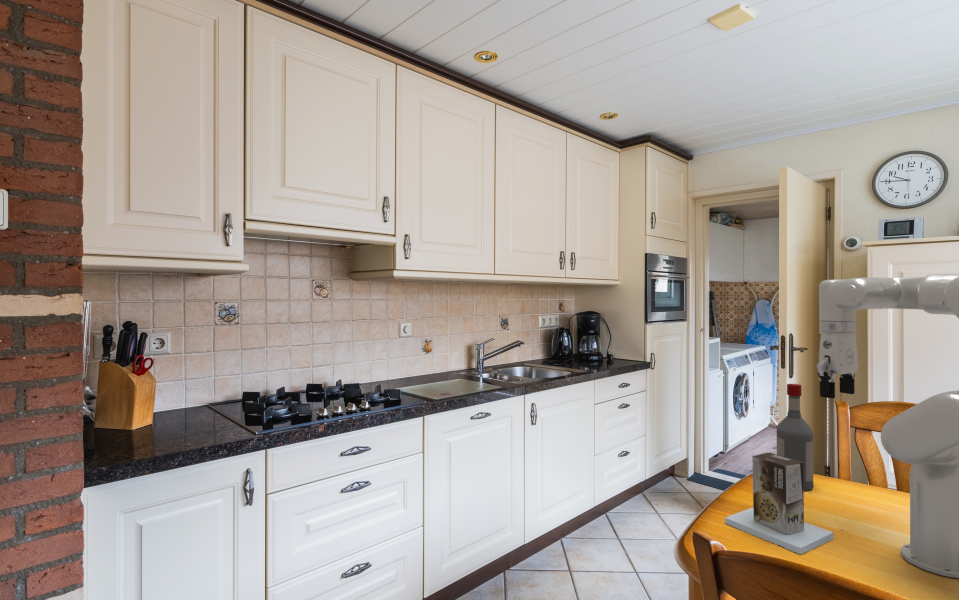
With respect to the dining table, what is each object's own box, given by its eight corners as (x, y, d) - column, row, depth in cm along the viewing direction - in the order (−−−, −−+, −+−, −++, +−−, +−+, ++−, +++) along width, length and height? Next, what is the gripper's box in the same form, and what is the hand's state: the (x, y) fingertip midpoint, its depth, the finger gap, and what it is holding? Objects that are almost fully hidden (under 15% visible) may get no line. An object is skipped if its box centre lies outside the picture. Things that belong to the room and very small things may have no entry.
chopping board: (833, 538, 118) (833, 532, 118) (800, 554, 111) (800, 548, 111) (758, 510, 134) (758, 505, 134) (725, 523, 127) (725, 517, 127)
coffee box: (805, 530, 120) (805, 462, 119) (786, 535, 117) (786, 466, 117) (770, 515, 128) (769, 451, 128) (751, 519, 126) (751, 454, 125)
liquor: (812, 482, 154) (811, 383, 153) (813, 492, 146) (813, 388, 145) (777, 477, 158) (776, 381, 158) (776, 487, 150) (776, 385, 150)
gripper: (836, 330, 121) (836, 402, 121) (870, 327, 130) (870, 394, 130) (803, 328, 128) (803, 396, 128) (837, 326, 137) (838, 389, 137)
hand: (837, 395), depth 129 cm, fingers open, 9 cm apart
